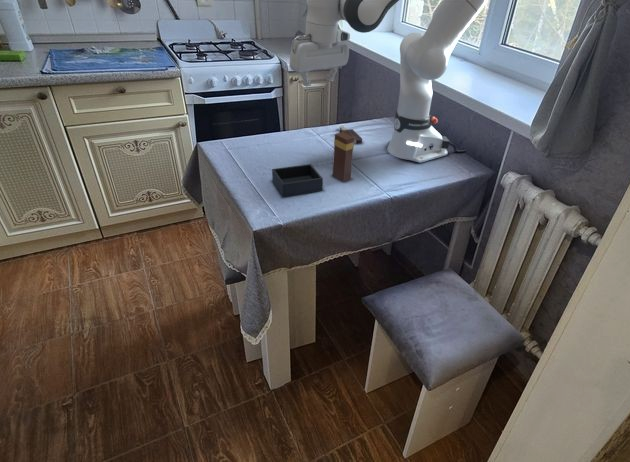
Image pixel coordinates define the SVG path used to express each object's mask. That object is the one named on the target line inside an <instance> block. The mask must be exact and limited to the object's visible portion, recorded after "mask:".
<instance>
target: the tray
mask: <svg viewBox="0 0 630 462" xmlns="http://www.w3.org/2000/svg"><path fill="white" fill-rule="evenodd" d="M271 174H272V175H271V176H272V177H271V179H272V183H273V184H274V186H275V187H276V189H277V191H278V192H279V193H280V195H281V197H282V198H284V197H291V196H297V195H304V194H309V193H316V192H322V191H323V187H324V185H323V184H324V181H323V179H324V178H323V177H322V176H321V174H320V173H319V172H318V170H316V168H315V167H314V166H313V165H312V163H307V164H301V165H293V166H286V167H285V166H284V167H278V168H271Z"/></svg>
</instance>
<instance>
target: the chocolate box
mask: <svg viewBox="0 0 630 462" xmlns="http://www.w3.org/2000/svg"><path fill="white" fill-rule="evenodd" d="M333 146H334V147H333V162H332V163H333V164H332V177H334V178H335V179H337V180H339V181H341V182H343V183H344V182H347V181H349V180H351V179H352V168H353V167H352V166H353V155H354V148H355V147H354V146H355V144H354V137H352V136H350V135H348V134H346V133H344V132H341V133H340V132H338V133H335V134H334V141H333Z"/></svg>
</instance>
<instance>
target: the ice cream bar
mask: <svg viewBox="0 0 630 462" xmlns="http://www.w3.org/2000/svg"><path fill="white" fill-rule="evenodd" d="M339 129H340V130H339V133H341V132H344V133H346V134H348V135H350V136H352V137H354V145H361V144H362V143H363V138H362V137H361V136H360V135H359V133H357V132H356V131H355V130H354V129H353V128H350V129H349V128H348V129H347V128H346V127H345V126H344V125H340V126H339Z"/></svg>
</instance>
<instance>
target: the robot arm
mask: <svg viewBox="0 0 630 462" xmlns="http://www.w3.org/2000/svg"><path fill="white" fill-rule="evenodd" d="M488 1H489V0H441V1H440V3H438V5H437V7H435V10H434V11H433V13H432V17H431V19H430V23H429V24H428V26H427V28H426V30H425V32H424V33H422V32H410V33H408V34H407V35H405V36H404V37H403V39H402V40H401V42H400V45H399V54H400V59H399V61H400V62H399V93H398V103H397V108H396V111H395V115H394V120H393V131H392V135H391V138H390V141H389V143H388V146H387V147H386V150H387V153H389V154H390V155H391V156H393V157H396V158H399V159H401V160H407V161H412V162H414V163H419V164H421V163H424V162H428V161H431V160H434V159H439V158H442V157H445V156H448V149H449V146H450V145H451V146H452V147H453V151H454V152H455V153H457V154H460V153H467V149H461V150H458V149H457V145H455V143H453V142H452V141H450V139H448V138H447V136H446V135H441V133H440V132H439V131H438V130H436V128H435V127H434V126H433V125H436V124H437V123H438V122H439V120H438V118H437V117H435V116H432V115H430V111H431V106H432V99H433V86H432V84H433V83H432V81H436V80H437V79H439V78H441V77H442V76H443V75H444V74H445V72H446V70H447V67H448V63H449V59H450V56H451V54H452V52H453V50H454V49H455V47H456V45H457V43H458V41H459V40H460V38H461V37H462V36H463V34H464V32H465V31H466V30H467V28H468V27H469V26H470V25H471V24H472V23H473V21H474V20H475V19H476V18H477V16H478V15H479V14H480V12H481V11H482V10H483V8H484V7H485V5H486V4H487V2H488ZM398 2H400V0H306V6H307V13H306V17H305V34H303V35H300V34H299V35H296V36H295V38H294V39H292V41H291V48H290V56H289V68H290V69H291V70H292V71H293V72H296V73H299V74H300V76H301V78H302V86H304V87H311V86H312V80H311V79H309V76H308V75H309V74H310V72H313V71H318V70H325V69H330V70H329V73H328V74H326V82H328V83H333V82H335V76H336V74H337V72H338V71H339V67H344V66H347V64H348V62H349V57H350V43H349V41H350V39H351V33H349V32H348V31H345V30H343V29H341V28H339V22H340V21H344V22H346V23H347V24H348V25H349V26H350V28H351V29H353V30H354V31H355V32H357V33H361V34H362V33H365V34H366V33H370V32H373V31H374V30H376V29H377V28H378V27H379V26H380V24H381V23H382V22H383V20H384V18H385V17H386V15H387V13H388V12H389V11H390V9H392V7H394V6H395V5H396V4H398ZM432 124H433V125H432Z"/></svg>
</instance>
